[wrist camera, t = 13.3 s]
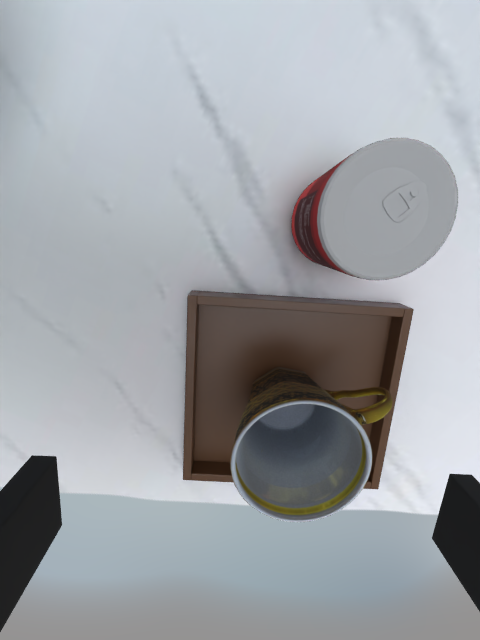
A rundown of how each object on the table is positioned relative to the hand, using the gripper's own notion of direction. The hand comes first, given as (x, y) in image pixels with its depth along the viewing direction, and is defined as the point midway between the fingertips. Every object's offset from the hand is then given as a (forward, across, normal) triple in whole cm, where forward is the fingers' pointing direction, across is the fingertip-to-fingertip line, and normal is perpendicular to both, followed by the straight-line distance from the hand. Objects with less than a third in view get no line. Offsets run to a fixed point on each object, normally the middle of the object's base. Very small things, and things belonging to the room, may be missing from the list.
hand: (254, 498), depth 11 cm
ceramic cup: (+21, +6, -6) cm, 22 cm away
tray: (+21, +5, -6) cm, 23 cm away
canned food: (+21, +8, +10) cm, 25 cm away
